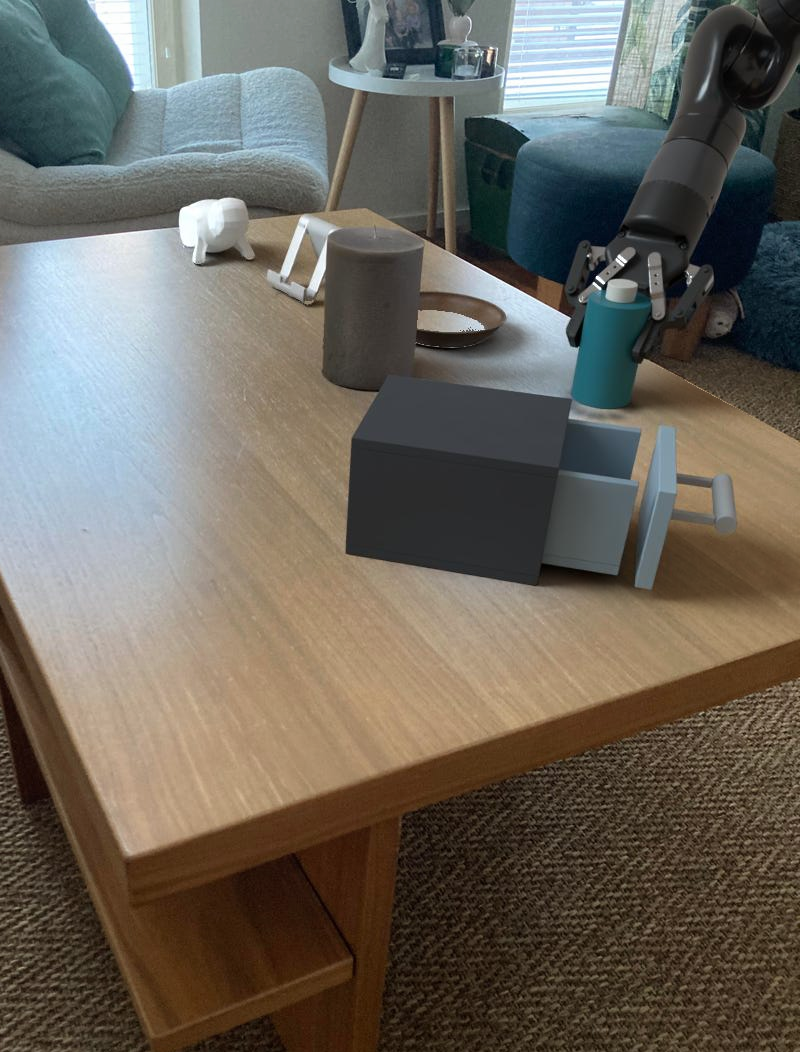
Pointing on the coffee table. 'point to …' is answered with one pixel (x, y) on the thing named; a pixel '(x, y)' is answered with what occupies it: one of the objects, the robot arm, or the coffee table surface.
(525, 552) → the drawer casing
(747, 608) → the coffee table surface
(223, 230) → the white animal figurine
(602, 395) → the detergent bottle
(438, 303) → the saucer
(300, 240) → the tablet stand
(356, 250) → the pillar candle
